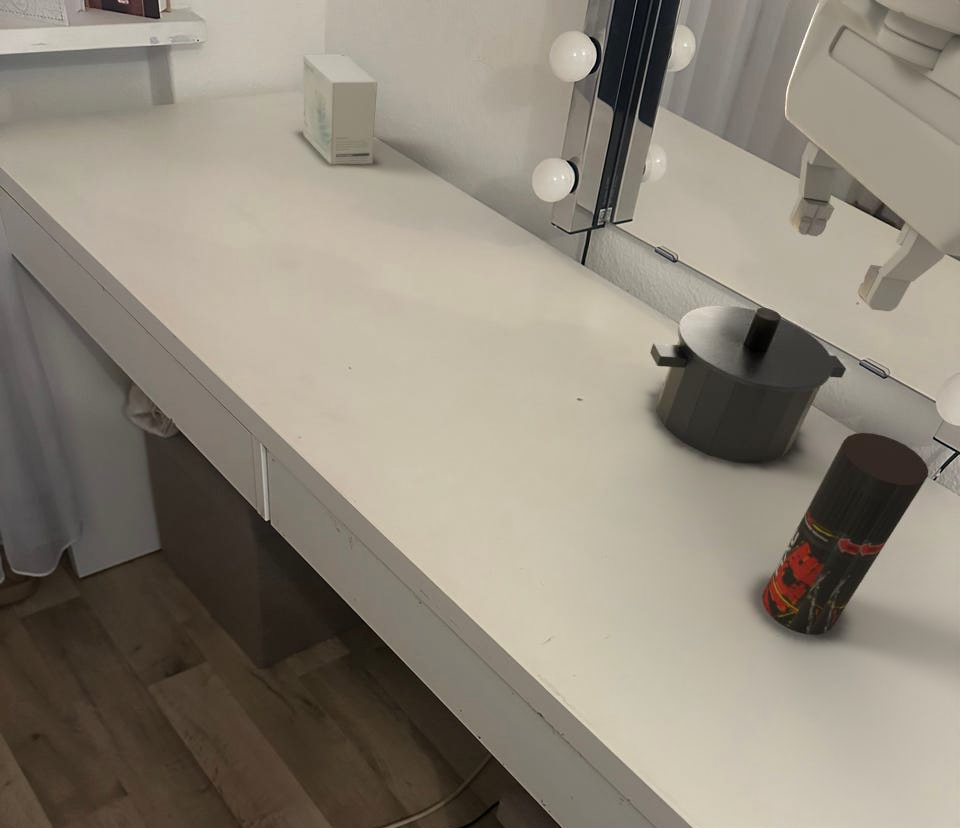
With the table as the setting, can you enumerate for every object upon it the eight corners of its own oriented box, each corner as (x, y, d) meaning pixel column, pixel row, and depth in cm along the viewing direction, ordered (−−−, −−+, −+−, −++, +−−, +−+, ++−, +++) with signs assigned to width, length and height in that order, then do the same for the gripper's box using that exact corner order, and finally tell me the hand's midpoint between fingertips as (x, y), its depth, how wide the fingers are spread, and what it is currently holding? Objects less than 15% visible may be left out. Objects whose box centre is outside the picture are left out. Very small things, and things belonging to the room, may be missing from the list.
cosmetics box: (300, 138, 125) (301, 51, 118) (344, 138, 128) (348, 53, 120) (328, 169, 119) (332, 79, 112) (373, 168, 122) (379, 80, 115)
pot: (615, 384, 93) (638, 305, 87) (782, 393, 97) (815, 319, 91) (652, 464, 84) (681, 383, 78) (835, 471, 88) (876, 394, 82)
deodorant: (840, 643, 71) (940, 490, 60) (767, 634, 70) (855, 478, 59) (822, 591, 75) (912, 439, 64) (753, 582, 74) (832, 427, 63)
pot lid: (656, 310, 88) (669, 269, 85) (791, 321, 91) (808, 282, 88) (704, 394, 78) (721, 351, 75) (854, 402, 81) (875, 361, 78)
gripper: (1175, 57, 37) (977, 364, 46) (924, -53, 50) (812, 202, 60) (1051, 28, 35) (873, 352, 45) (826, -77, 49) (727, 189, 58)
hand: (836, 265), depth 53 cm, fingers open, 8 cm apart
